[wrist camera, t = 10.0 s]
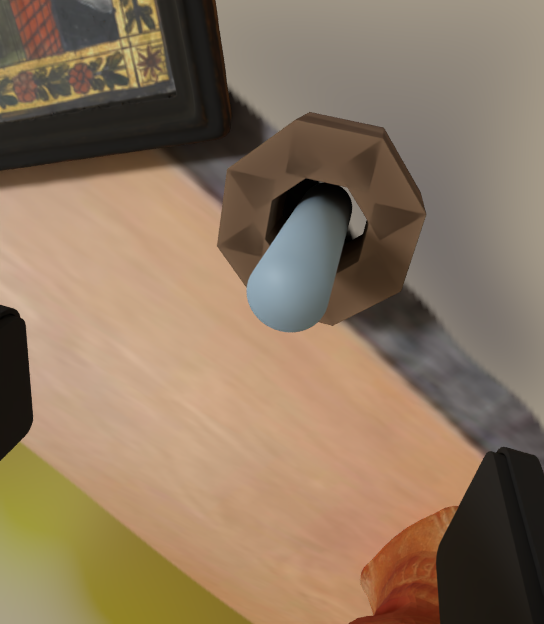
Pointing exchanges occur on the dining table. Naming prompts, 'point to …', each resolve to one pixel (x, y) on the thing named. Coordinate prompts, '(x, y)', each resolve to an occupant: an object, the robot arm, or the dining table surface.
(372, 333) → the dining table surface
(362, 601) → the dining table surface
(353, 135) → the bead
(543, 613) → the robot arm
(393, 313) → the dining table surface
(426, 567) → the ceramic vessel
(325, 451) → the dining table surface
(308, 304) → the dowel
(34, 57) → the religious icon
